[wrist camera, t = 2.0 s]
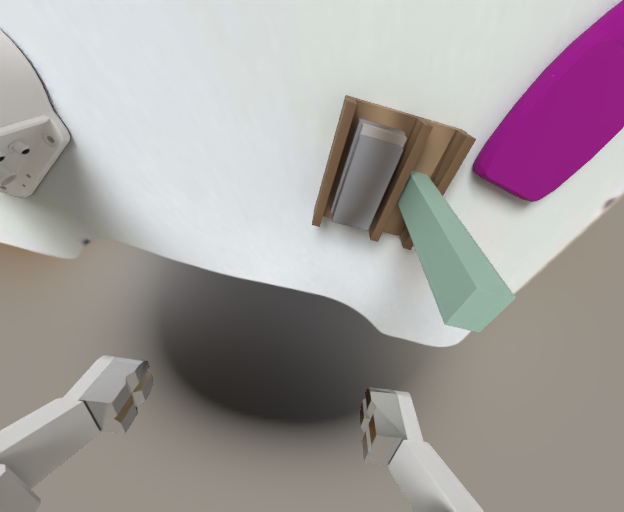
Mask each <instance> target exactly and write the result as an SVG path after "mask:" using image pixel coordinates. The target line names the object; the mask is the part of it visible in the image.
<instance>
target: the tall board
mask: <svg viewBox="0 0 624 512" xmlns="http://www.w3.org/2000/svg"><path fill="white" fill-rule="evenodd" d="M397 203H398V205H399V208H400V210H401V213H402V216H403V218H404V221H405V223H406V226H407V228H408V231H409V234H410V236H411V239H412V241H413V244H414V247H415V249H416V252H417V254H418V257H419V259H420V262H421V265H422V267H423V270H424V272H425V275H426V277H427V280H428V283H429V285H430V288H431V290H432V293H433V296H434V298H435V301H436V303H437V306H438V308H439V311H440V314H441V316H442V319H443V321H444V324H445V325H449V326H453V327H458V328H462V329H466V330H471V331H475V332H480V331H481V330H482V329H484V327H486V326H487V325H488V324H489V323H490V322H491V321H492V320H493V319H494V318H495V317H496V316H497V315H498V314H499V313H500V312H501V311H502V310H503V309H504V308H506V307H507V306H508V305H509V304H510V303H511V302H512V301H513V300H514V299H515V298H516V297H515V296H514V294H513V293H512V292H511V290H510V289H509V288H508V286H507V285H506V283H505V282H504V281H503V279H502V278H501V276H500V275H499V274H498V272H497V271H496V270H495V268H494V267H493V265H492V264H491V263H490V261H489V260H488V258H487V257H486V256H485V254H484V253H483V251H482V250H481V249H480V247H479V246H478V245H477V243H476V242H475V240H474V239H473V238H472V236H471V235H470V233H469V232H468V231H467V229H466V228H465V226H464V225H463V224H462V222H461V221H460V220H459V218H458V217H457V215H456V214H455V213H454V211H453V210H452V208H451V207H450V206H449V204H448V203H447V202H446V200H445V199H444V197H443V196H442V195H441V193H440V192H439V190H438V189H437V188H436V186H435V185H434V183H433V182H432V181H431V179H430V178H429V177H428V175H426V174H423V173H419V172H415V171H412V172H411V174H410V176H409V178H408V180H407V182H406V184H405V186H404V188H403V190H402V193H401V195H400V197H399V199H398V201H397Z"/></svg>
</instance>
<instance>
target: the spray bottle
mask: <svg viewBox="0 0 624 512" xmlns="http://www.w3.org/2000/svg"><path fill="white" fill-rule="evenodd" d="M623 127H624V0H623V1H621V2H620V3H619V4H617V5H616V6H615V7H614V8H612V9H611V10H610V11H608V12H607V13H606V14H605V15H604V16H603V17H601V18H600V19H599V20H598V21H597V22H596V23H594V24H593V25H592V26H591V27H590V28H588V29H587V30H586V31H585V32H584V33H583V34H581V35H580V36H579V37H578V38H577V39H576V40H574V41H573V42H572V43H571V44H570V45H569V46H568V47H567V48H566V49H565V50H564V51H563V52H562V53H561V54H560V55H559V56H558V57H557V58H556V59H555V60H554V61H553V62H552V63H551V64H550V65H549V66H548V67H547V68H546V69H545V70H544V71H543V72H542V74H541V75H540V76H539V77H538V78H537V79H536V80H535V82H534V83H533V84H532V85H531V86H530V87H529V89H528V90H527V91H526V92H525V93H524V94H523V96H522V97H521V98H520V99H519V100H518V101H517V103H516V104H515V105H514V106H513V108H512V109H511V110H510V112H509V113H508V114H507V116H506V117H505V118H504V120H503V121H502V122H501V124H500V125H499V126H498V127H497V129H496V130H495V131H494V133H493V134H492V135H491V137H490V138H489V139H488V141H487V142H486V144H485V145H484V147H483V148H482V150H481V152H480V153H479V155H478V156H477V158H476V160H475V162H474V168H473V171H474V172H476V173H477V174H478V175H479V176H480V177H481V178H483V179H485V180H487V181H489V182H491V183H493V184H495V185H496V186H498V187H500V188H502V189H504V190H506V191H508V192H510V193H511V194H513V195H515V196H517V197H519V198H521V199H524V200H529V201H538V200H540V199H541V198H543V197H545V196H546V195H548V194H549V193H551V192H553V191H554V190H555V189H557V188H558V187H559V186H560V185H561V184H562V183H564V182H565V181H566V180H567V179H568V178H569V177H571V176H572V175H573V174H574V173H575V172H576V171H578V170H579V169H580V168H581V167H582V166H583V165H585V164H586V163H587V162H588V161H589V160H590V159H592V158H593V157H594V156H595V155H596V154H597V153H598V152H599V151H600V150H601V149H602V148H603V147H604V146H605V145H606V144H607V143H608V142H609V141H610V140H611V139H612V138H613V137H614V136H615V135H616V134H617V133H618V132H619V131H620V130H621V129H622V128H623Z"/></svg>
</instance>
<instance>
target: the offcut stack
mask: <svg viewBox="0 0 624 512" xmlns="http://www.w3.org/2000/svg"><path fill="white" fill-rule="evenodd" d="M406 139H407V138H406V136H405V133H404V132H403V131H402V130H399V129H396V128H392V127H389V126H385V125H382V124H378V123H375V122H371V121H368V120H365V119H361V118H359V119H358V122H357V125H356V128H355V131H354V134H353V138H352V141H351V144H350V147H349V150H348V153H347V156H346V160H345V163H344V166H343V169H342V172H341V175H340V178H339V182H338V185H337V188H336V191H335V194H334V197H333V200H332V204H331V207H330V213H333V215H332V222H336V223H340V224H343V225H347V226H351V227H355V228H359V229H363V230H367V231H368V229H369V227H370V224H371V222H372V220H373V218H374V215H375V213H376V211H377V209H378V206H379V204H380V202H381V200H382V197H383V195H384V193H385V190H386V188H387V186H388V184H389V181H390V179H391V177H392V175H393V172H394V170H395V168H396V166H397V163H398V161H399V159H400V157H401V154H402V152H403V146H404V144H405V142H406Z"/></svg>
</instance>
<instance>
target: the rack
mask: <svg viewBox="0 0 624 512" xmlns="http://www.w3.org/2000/svg"><path fill="white" fill-rule="evenodd" d="M359 118H361V119H365V120H368V121H371V122H375V123H378V124H382V125H385V126H389V127H392V128H396V129H399V130H402V131H403V132H404V133H405V136H406V138H407V139H406V142H405V144H404V146H403V152H402V154H401V157H400V159H399V161H398V163H397V166H396V168H395V170H394V172H393V175H392V177H391V179H390V181H389V184H388V186H387V188H386V190H385V193H384V195H383V197H382V200H381V202H380V204H379V206H378V209H377V211H376V213H375V215H374V218H373V220H372V222H371V224H370V227H369V234H370V240H374V241H378V240H379V238H380V236H381V234H382V232H383V231H384V232H388V233H392V234H396V235H399V236H400V239H401V242H402V245H403V248H405V249H409V250H411V248H412V247H413V245H414V244H413V241H412V239H411V236H410V234H409V231H408V228H407V226H406V223H405V221H404V218H403V216H402V213H401V210H400V208H399V205H398V203H397V201H398V199H399V197H400V195H401V193H402V190H403V188H404V186H405V184H406V182H407V180H408V178H409V176H410V174H411V172H412V171H415V172H419V173H423V174H426V175H428V177H429V178H430V179H431V181H432V182H433V183H434V185H435V186H436V188H437V189H438V190H439V192H440V193H441V195H442V196H443V194H444V193H445V191H446V189H447V188H448V186H449V184H450V183H451V181H452V179H453V177H454V176H455V174H456V172H457V171H458V169H459V167H460V166H461V164H462V162H463V161H464V159H465V157H466V156H467V154H468V152H469V150H470V149H471V147H472V145H473V144H474V142H475V140H476V139H475V138H473V137H472V136H470V135H468V134H467V133H466V132H465V131H463V130H462V129H458V128H455V127H451V126H448V125H445V124H441V123H438V122H435V121H431V120H428V119H424V118H421V117H418V116H414V115H411V114H408V113H404V112H401V111H398V110H394V109H391V108H387V107H384V106H381V105H377V104H374V103H371V102H367V101H364V100H360V99H357V98H354V97H350V96H347V95H346V97H345V100H344V104H343V107H342V111H341V115H340V118H339V122H338V125H337V129H336V133H335V136H334V140H333V144H332V147H331V151H330V154H329V158H328V162H327V165H326V169H325V172H324V176H323V180H322V183H321V187H320V190H319V194H318V198H317V201H316V205H315V209H314V215H313V221H312V225H315V226H318V227H320V224H321V220H322V217H323V216H326V217H329V218H332V215H333V213H330V207H331V204H332V200H333V197H334V194H335V191H336V188H337V185H338V182H339V178H340V175H341V172H342V169H343V166H344V163H345V160H346V156H347V153H348V150H349V147H350V144H351V141H352V138H353V134H354V131H355V128H356V125H357V122H358V119H359Z"/></svg>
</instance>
